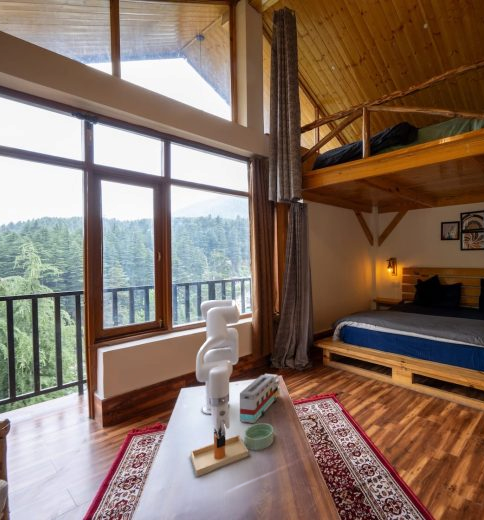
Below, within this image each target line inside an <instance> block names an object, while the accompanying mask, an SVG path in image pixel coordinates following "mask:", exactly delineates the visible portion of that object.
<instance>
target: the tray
mask: <svg viewBox="0 0 484 520" xmlns="http://www.w3.org/2000/svg"><path fill="white" fill-rule="evenodd" d="M246 457H249V449H248V448H246V446H245V442H244V441H243V439H242V438H241V436H240V434H237V435H233V436H231V437H228V438H225V456H224V457H223V458H222V459H215V458H214V442H213V443H211V444H208V445H205V446H201V447H199V448H196V449H193V450H190V459H191V463H192V466H193V469H194V473H195V476H196V478H198V477H200V476H203V475H205V474H208V473H211V472H213V471H215V470H216V469H218V468H221V467H223V466H226V465H228V464H231V463H233V462H236V461H239V460H241V459H243V458H246Z"/></svg>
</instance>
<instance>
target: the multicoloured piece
mask: <svg viewBox="0 0 484 520" xmlns="http://www.w3.org/2000/svg"><path fill="white" fill-rule="evenodd" d="M278 377H279V375H278V374H274V373H273V374H272V373H264V374H261V375H260V376H258V377H257V378H256V379H255V380H254V381H253V382H251V383H250V384H249V385H248V386H247V387H245V388H243V390H242V391H240V392H239V422H242V423H250V424H255V423H256V422H257V420H259V418H260V417H263V416H264V415H265V411H267V410H268V408H269V407H270V406H271V405H272V404H275V403H276V401H277V398H278V397H279V396H280V393H281V392H280V391H281V390H280V387H279V385H280V383H281V382H280V380H281V379H279V378H278Z"/></svg>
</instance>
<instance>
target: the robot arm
mask: <svg viewBox="0 0 484 520" xmlns="http://www.w3.org/2000/svg"><path fill="white" fill-rule="evenodd" d="M200 312H201V314H202V317H203V318H204V320H205V324H206V328H205V329H206V330H205V331H206V333H205V334H206V337H205V338H206V341H205V342H204V343H203V344H202V345H201V346H200V348H199V350H198V351H197V354H196V358H195V377H196V380H197V382H199V383H205V404H204V405H202V412H203V413H204V414H206V415H211V423H212V425H213V435H214V434H215V433H216V431H217V437H218V438H217V448H220V447H223V446H225V439H226V430H228V429H230V413H229V403H230V377H231V375H232V374H233V367H234V365H237V364H238V363H239V358H240V357H239V356H240V355H239V354H240V341H239V340H240V339H239V337H240V336H239V331H238V330H237V328H235V327H228V325H231V324H232V325H233V324H237V323H238V322H239V321H240V317H241V315H240V308H239V304H238V301H236V299H213V300H211V299H210V300H205V301H202V302H201V304H200ZM220 428H221V429H220ZM220 431H221V433H220V434H219V432H220Z"/></svg>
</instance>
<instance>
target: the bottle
mask: <svg viewBox="0 0 484 520" xmlns="http://www.w3.org/2000/svg"><path fill="white" fill-rule="evenodd" d="M220 429H221V428H220ZM220 433H221V431H220V432H219V434H220ZM217 438H218V437H217V431H216V433H215V434H214V433H213V443H214V458H215V459H222V458H223V457H224V456H225V446H223V447H220V448H217Z"/></svg>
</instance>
